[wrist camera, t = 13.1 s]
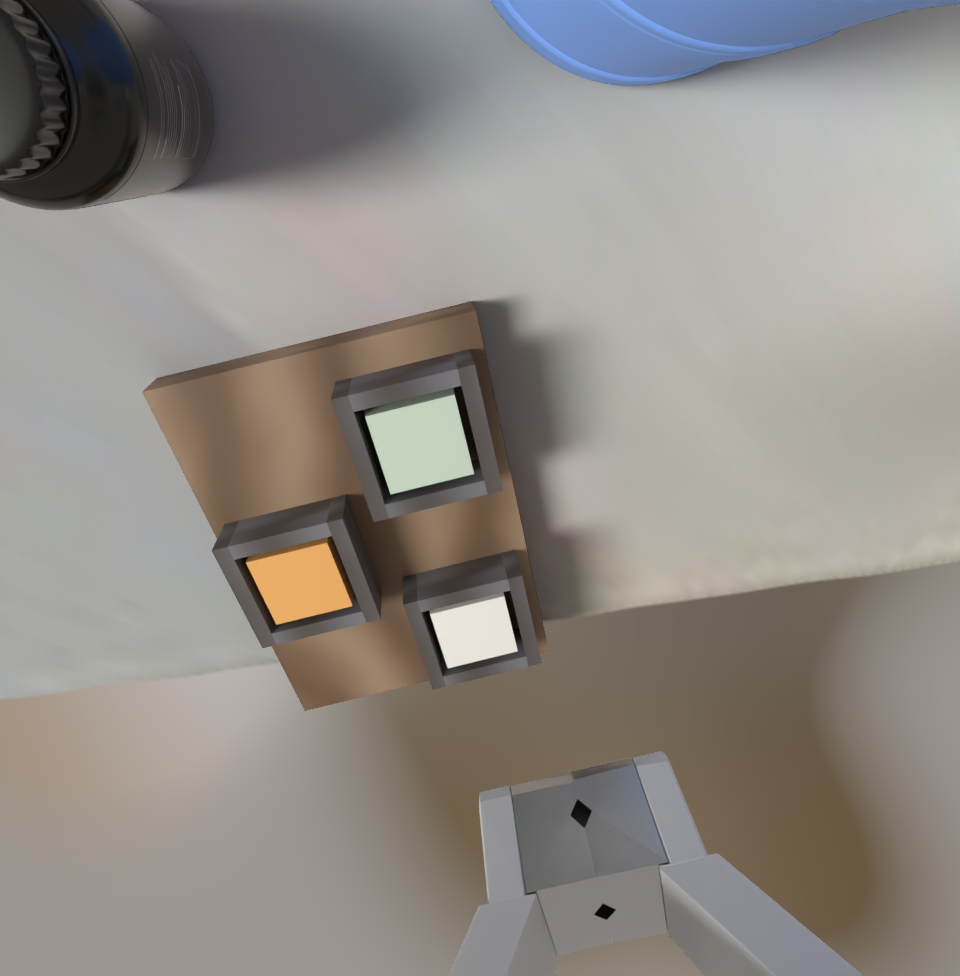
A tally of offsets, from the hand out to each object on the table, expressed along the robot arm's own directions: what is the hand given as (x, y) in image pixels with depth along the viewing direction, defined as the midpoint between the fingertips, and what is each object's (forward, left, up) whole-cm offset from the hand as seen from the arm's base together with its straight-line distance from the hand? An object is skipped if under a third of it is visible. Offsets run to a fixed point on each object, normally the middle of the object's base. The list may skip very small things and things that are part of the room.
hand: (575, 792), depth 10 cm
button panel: (+7, +9, -25) cm, 27 cm away
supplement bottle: (+11, -13, -25) cm, 30 cm away
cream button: (+3, +15, -23) cm, 27 cm away
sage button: (+3, +3, -23) cm, 23 cm away
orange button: (+11, +9, -23) cm, 26 cm away
